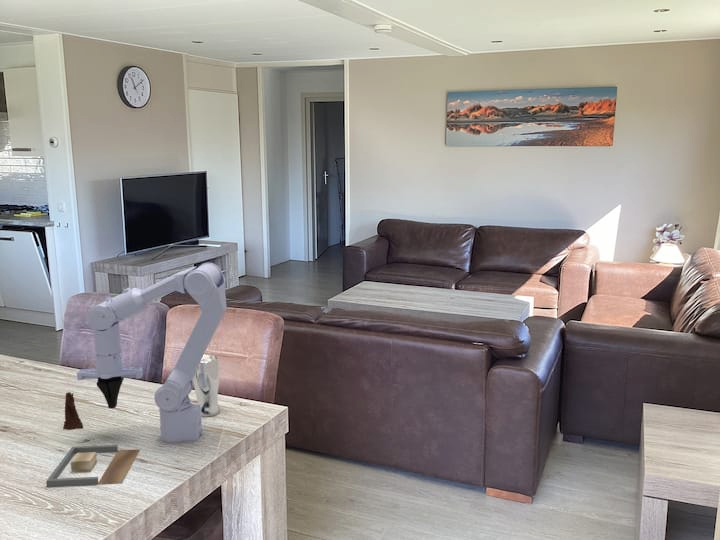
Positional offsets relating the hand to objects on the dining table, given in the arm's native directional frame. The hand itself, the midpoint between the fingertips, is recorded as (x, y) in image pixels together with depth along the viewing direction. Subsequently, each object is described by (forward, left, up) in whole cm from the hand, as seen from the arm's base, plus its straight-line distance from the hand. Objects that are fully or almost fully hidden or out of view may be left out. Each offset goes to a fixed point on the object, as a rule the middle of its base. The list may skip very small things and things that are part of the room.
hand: (112, 406), depth 152 cm
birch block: (+2, +16, -8) cm, 18 cm away
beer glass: (-20, -14, -9) cm, 26 cm away
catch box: (+2, +16, -8) cm, 18 cm away
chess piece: (+12, -6, -9) cm, 16 cm away
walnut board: (-6, +16, -8) cm, 19 cm away
